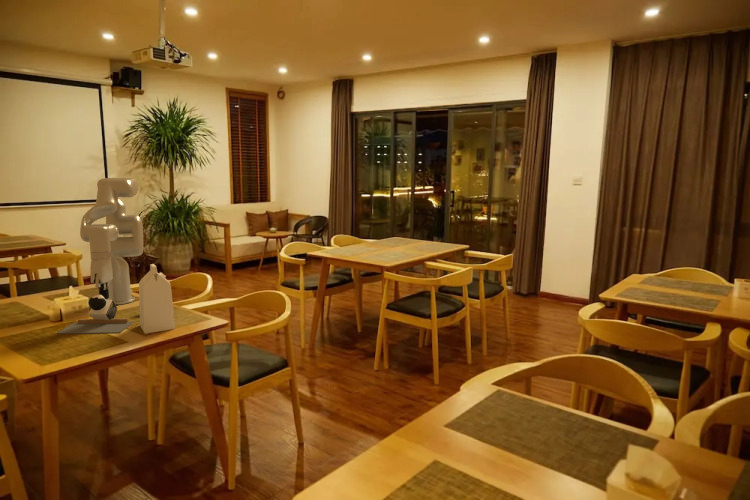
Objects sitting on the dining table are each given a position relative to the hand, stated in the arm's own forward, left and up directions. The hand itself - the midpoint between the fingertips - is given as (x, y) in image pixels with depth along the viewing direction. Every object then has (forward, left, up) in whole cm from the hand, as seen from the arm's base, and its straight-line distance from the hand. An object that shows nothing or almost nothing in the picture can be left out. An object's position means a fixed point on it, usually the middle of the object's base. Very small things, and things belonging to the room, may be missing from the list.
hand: (104, 298), depth 207 cm
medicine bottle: (-2, 0, -8) cm, 8 cm away
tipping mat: (+8, 0, -10) cm, 13 cm away
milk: (+8, +24, -11) cm, 27 cm away
